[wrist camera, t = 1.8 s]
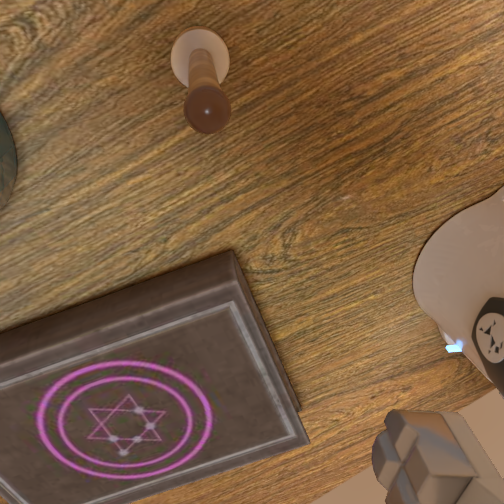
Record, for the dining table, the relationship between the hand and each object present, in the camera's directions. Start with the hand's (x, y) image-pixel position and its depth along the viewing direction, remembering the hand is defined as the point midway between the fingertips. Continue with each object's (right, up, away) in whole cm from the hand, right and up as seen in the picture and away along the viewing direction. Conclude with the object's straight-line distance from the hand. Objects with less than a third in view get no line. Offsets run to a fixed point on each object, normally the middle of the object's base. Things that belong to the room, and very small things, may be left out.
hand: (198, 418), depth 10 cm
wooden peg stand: (-3, +17, +24) cm, 30 cm away
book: (-11, -10, +39) cm, 42 cm away
